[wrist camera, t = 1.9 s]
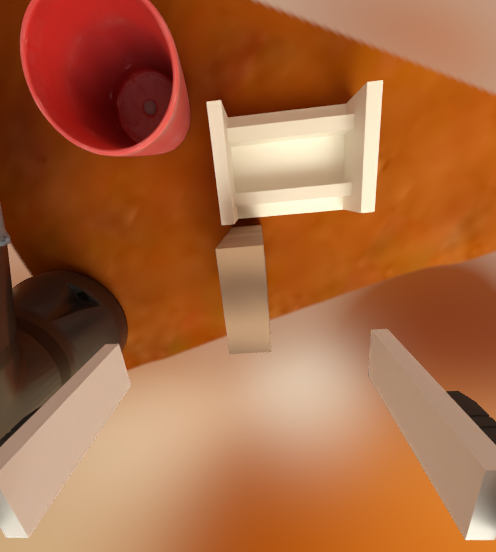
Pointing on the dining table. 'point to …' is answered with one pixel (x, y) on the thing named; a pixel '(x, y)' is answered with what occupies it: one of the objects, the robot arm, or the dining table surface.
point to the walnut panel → (244, 289)
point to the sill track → (297, 158)
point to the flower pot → (106, 75)
